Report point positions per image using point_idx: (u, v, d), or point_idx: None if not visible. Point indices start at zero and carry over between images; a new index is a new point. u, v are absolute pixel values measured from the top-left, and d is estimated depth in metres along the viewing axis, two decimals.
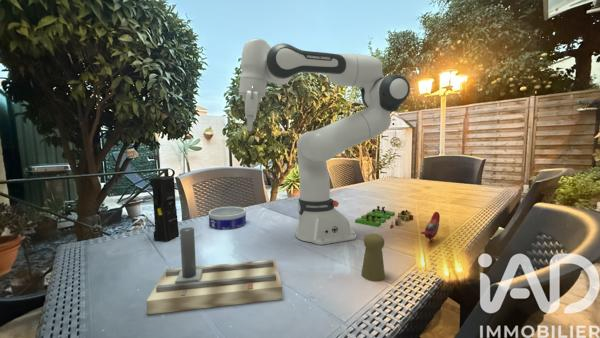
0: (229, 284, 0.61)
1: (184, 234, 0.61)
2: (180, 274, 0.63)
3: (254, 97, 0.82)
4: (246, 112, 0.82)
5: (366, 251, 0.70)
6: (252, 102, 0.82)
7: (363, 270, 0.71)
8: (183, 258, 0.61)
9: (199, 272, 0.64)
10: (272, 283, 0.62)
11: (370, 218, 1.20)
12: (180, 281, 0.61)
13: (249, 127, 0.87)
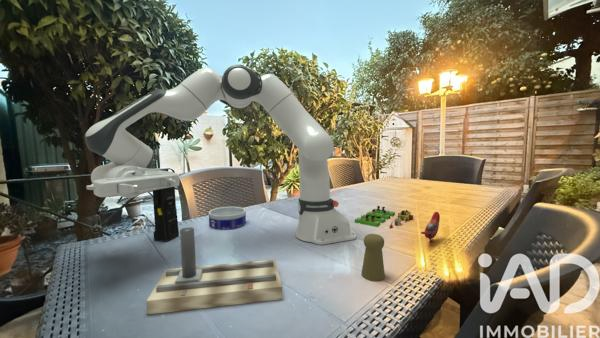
0: (229, 284, 0.61)
1: (184, 234, 0.61)
2: (180, 274, 0.63)
3: (93, 184, 0.65)
4: (102, 195, 0.63)
5: (366, 251, 0.70)
6: (95, 187, 0.64)
7: (363, 270, 0.71)
8: (183, 258, 0.61)
9: (199, 272, 0.64)
10: (272, 283, 0.62)
11: (370, 218, 1.20)
12: (180, 281, 0.61)
13: (130, 189, 0.64)
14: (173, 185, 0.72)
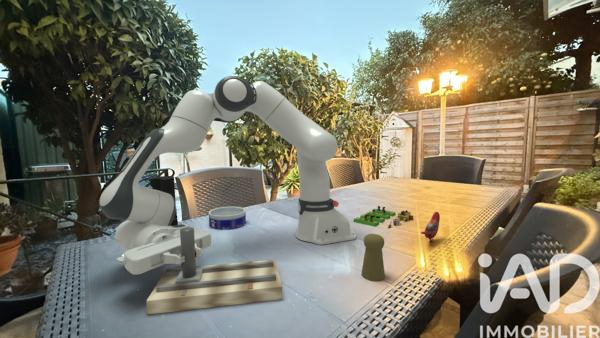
0: (229, 284, 0.61)
1: (184, 234, 0.61)
2: (180, 274, 0.63)
3: (124, 258, 0.60)
4: (135, 273, 0.57)
5: (366, 251, 0.70)
6: (127, 262, 0.59)
7: (363, 270, 0.71)
8: None
9: (199, 272, 0.64)
10: (272, 283, 0.62)
11: (369, 218, 1.20)
12: (180, 281, 0.61)
13: (176, 260, 0.60)
14: (199, 254, 0.64)
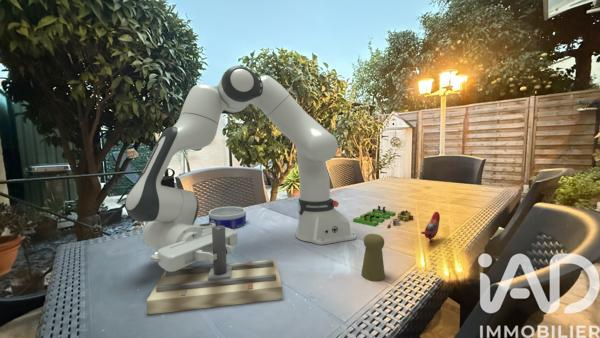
0: (229, 284, 0.61)
1: (216, 232, 0.62)
2: (211, 271, 0.65)
3: (158, 256, 0.61)
4: (171, 270, 0.58)
5: (366, 251, 0.70)
6: (161, 260, 0.60)
7: (363, 270, 0.71)
8: None
9: (229, 269, 0.66)
10: (272, 283, 0.62)
11: (369, 218, 1.20)
12: (212, 278, 0.62)
13: (209, 258, 0.62)
14: (229, 252, 0.66)
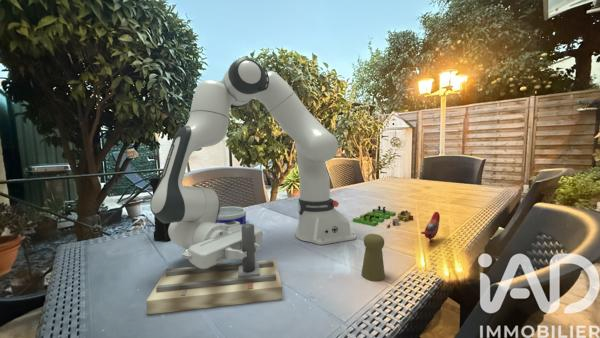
0: (229, 284, 0.61)
1: (246, 230, 0.63)
2: (240, 269, 0.66)
3: (190, 253, 0.62)
4: (203, 267, 0.60)
5: (366, 251, 0.70)
6: (193, 257, 0.61)
7: (363, 270, 0.71)
8: None
9: (257, 267, 0.67)
10: (272, 283, 0.62)
11: (368, 218, 1.20)
12: (242, 275, 0.63)
13: (239, 255, 0.63)
14: (257, 250, 0.67)
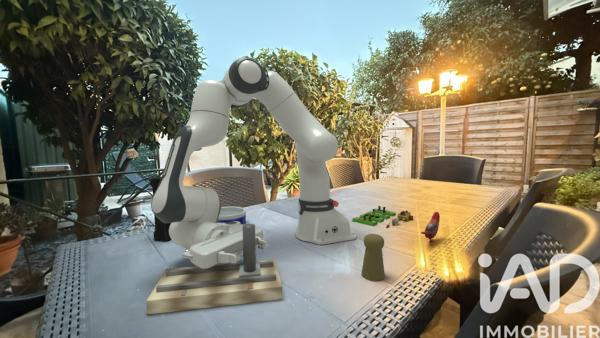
0: (229, 284, 0.61)
1: (247, 230, 0.63)
2: (241, 268, 0.66)
3: (191, 253, 0.62)
4: (204, 267, 0.60)
5: (366, 251, 0.70)
6: (194, 257, 0.61)
7: (363, 270, 0.71)
8: (246, 253, 0.64)
9: (258, 267, 0.67)
10: (272, 283, 0.62)
11: (368, 217, 1.21)
12: (243, 275, 0.63)
13: (232, 259, 0.61)
14: (265, 246, 0.69)
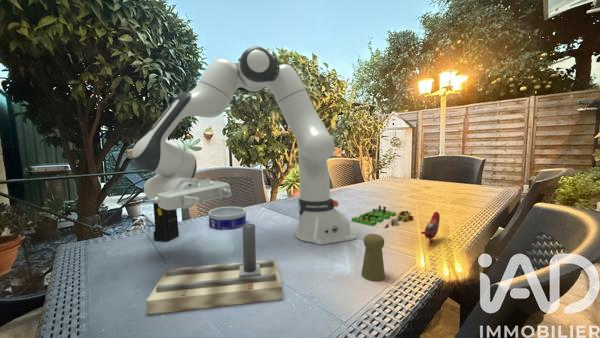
0: (229, 284, 0.61)
1: (247, 230, 0.63)
2: (241, 268, 0.66)
3: (158, 198, 0.68)
4: (169, 208, 0.66)
5: (366, 251, 0.70)
6: (161, 201, 0.67)
7: (363, 270, 0.71)
8: (246, 253, 0.64)
9: (258, 267, 0.67)
10: (272, 283, 0.62)
11: (368, 217, 1.21)
12: (243, 275, 0.63)
13: (195, 201, 0.67)
14: (229, 195, 0.75)
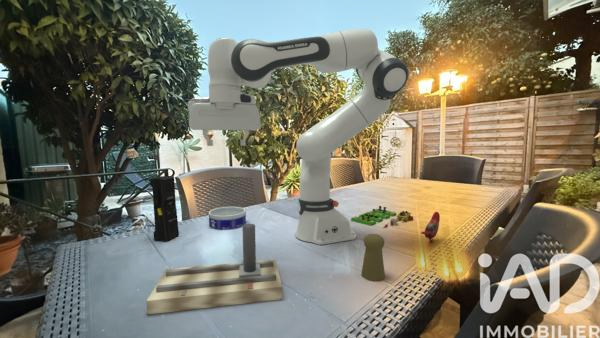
0: (229, 284, 0.61)
1: (247, 230, 0.63)
2: (241, 268, 0.66)
3: None
4: None
5: (366, 251, 0.70)
6: None
7: (363, 270, 0.71)
8: (246, 253, 0.64)
9: (258, 267, 0.67)
10: (272, 283, 0.62)
11: (367, 217, 1.21)
12: (243, 275, 0.63)
13: None
14: None
